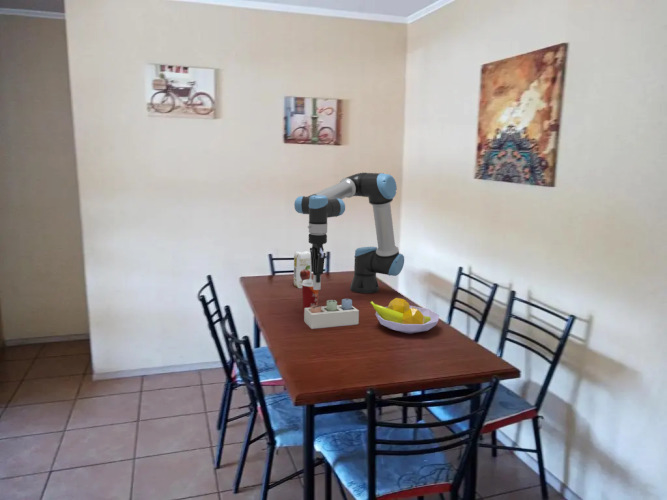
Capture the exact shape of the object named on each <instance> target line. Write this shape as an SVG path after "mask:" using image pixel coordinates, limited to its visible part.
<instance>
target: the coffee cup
mask: <svg viewBox="0 0 667 500" xmlns="http://www.w3.org/2000/svg"><path fill="white" fill-rule="evenodd" d="M301 290H302V312H303V314H304V308H310V307H311V306H314V305H317V306H318V304H319V303H318V302H319V292H320V291H319V290H314V289H313V278H311V279H307V280H303V281H302V288H301Z"/></svg>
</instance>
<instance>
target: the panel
mask: <svg viewBox="0 0 667 500" xmlns="http://www.w3.org/2000/svg"><path fill="white" fill-rule="evenodd" d="M326 306H327V305H324V306H322V305H321V312H319V313H311V307H310V308H304V313H303V321H304V323H305V324H306V325H307V326H308V327H309V328H310V329H311V330H314V329H315V330H316V329H325V328H334V327H343V326H354V325H356V326H357V325H359V323H360V322H359V319H360V310H359V309H358V308H356V307H355V306H353V305H352V310H342V304H337V311H330V312H328V311H326Z"/></svg>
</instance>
